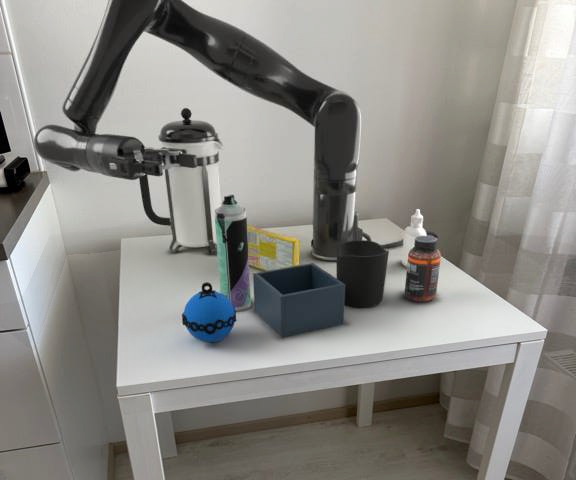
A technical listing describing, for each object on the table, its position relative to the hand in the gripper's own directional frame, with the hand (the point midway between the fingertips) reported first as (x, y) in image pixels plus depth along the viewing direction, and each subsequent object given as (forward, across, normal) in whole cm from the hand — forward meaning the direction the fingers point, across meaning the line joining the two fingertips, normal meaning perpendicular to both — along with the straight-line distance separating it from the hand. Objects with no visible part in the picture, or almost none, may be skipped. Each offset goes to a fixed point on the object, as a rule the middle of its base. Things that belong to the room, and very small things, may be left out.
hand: (178, 165), depth 98 cm
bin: (+24, +2, +24) cm, 34 cm away
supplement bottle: (+38, +23, +24) cm, 50 cm away
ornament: (+17, -13, +24) cm, 32 cm away
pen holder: (+29, +15, +24) cm, 41 cm away
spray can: (+11, 0, +24) cm, 26 cm away
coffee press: (-19, +21, +24) cm, 37 cm away
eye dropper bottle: (+30, +38, +24) cm, 54 cm away
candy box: (+6, +18, +24) cm, 31 cm away
